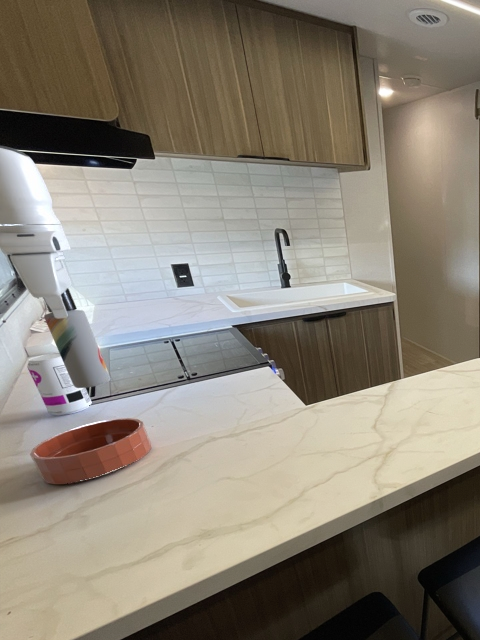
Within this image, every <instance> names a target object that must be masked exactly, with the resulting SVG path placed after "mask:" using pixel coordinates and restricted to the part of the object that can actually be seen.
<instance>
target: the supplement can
mask: <svg viewBox="0 0 480 640" xmlns="http://www.w3.org/2000/svg"><path fill="white" fill-rule="evenodd" d="M26 366H27V367H26V368H27V370H28V372H29V374H30V376H31V378H32V380H33V383H34V385H35V386H36V389H37V391H38V393H39V395H40V397H41V400H42V402H43V403H44V406H45V408H46V410H47V412H48V414H50V415H53V416H66V415H71V414H75V413H79V412H81V411H84V410H87V409H88V408H89V407H90V406H91V405H92V402H93V401H92V400H91V397H90V395H89V392H88V390H87V388H76V387H75V386H74V385H73V383H72V381H71V379H70V376H69V374H68V372H67V369H66V367H65V365H64V362H63V360H62V358H61V355H60V353H59V352H53V353H47V354H41V355H38V356H37V355H36V356H33V357H31V358H28V360H27V365H26ZM89 405H90V406H89Z"/></svg>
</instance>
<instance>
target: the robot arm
mask: <svg viewBox="0 0 480 640" xmlns="http://www.w3.org/2000/svg"><path fill="white" fill-rule="evenodd" d="M0 250H1V252H2V254H4V255H9V258H10V260H11V263H12V265H13V267H14V268H15V271H16V272H17V274H18V276H19V278H20V280H21V281H22V283H23V285H24V286H25V288H26V290H27V291H28V292H29V294H30V295H31V296H32V297H33V298H35V299H39V298H41V299H42V298H43V297H44V299H45V301H46V303H47V304H48V306H49V307H50V309H51V310H52V312H51V313H53V315H54V317H55V318H57V319H60V318H67V317H68V312H67V310H66V308H65V306H64V303H63V301H62V297H61V294H62V293H63V292H65V291H66V289H67V288H68V289H69V288H71V287H73V286H72V285H73V284H72V280H71V277H70V275H69V272H68V270H67V267H66V265H65V263H64V260H66V256H65V255H64V252H63V251H71V250H72V248H71V246H70V243H69V240H68V238H67V235H66V232H65V229H64V228H63V225H62V223H61V221H60V219H59V218H58V217H57V216H56V213H55V211H54V208H53V199H52V196H51V194H50V191H49V189H48V187H47V185H46V182H45V180H44V177H43V176H42V174H41V172H40V170H39V168H38V166H37V165H36V163H35V162H34V160H33V159H32V158H31V157H30V156H29V155H28V154H27V153H24V152H23V151H21V150H18V149H16V148H13V147H9V146H5V145H0ZM44 299H43V300H44ZM45 301H44V302H45Z"/></svg>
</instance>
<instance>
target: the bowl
mask: <svg viewBox="0 0 480 640" xmlns="http://www.w3.org/2000/svg"><path fill="white" fill-rule="evenodd" d="M151 449H152V442H151V440H150V437H149V434H148V431H147V429H146V427H145V424H144V422H143V420H141V419H138V418H132V417H131V418H130V417H127V418H114V419H107V420H101V421H96V422H92V423H88V424H85V425H84V424H83V425H81V426H78V427H75V428H72V429H69V430H68V429H67V430H66V431H63V432H61V433H58V434H55V435H53V436H51V437H48V438H47V439H45V440H43V441H41V442H40V443H38V444H37V445H36V446H34V447H33V448H32V449H31V451H30V453H29V456H30V458H31V460H32V462H33V464H34V465H35V467H36V470H37V471H38V473H39V475H40V478H41V479H42V480H43V481H44V482H45V483H46V484H50V485H51V484H52V485H67V483H68V484H72V483H71V482H75V483H77V482H76V481H80V480H85V479H89V478H93V477H96V476H100V475H102V474H105V473H107V472H110V471H112V470H115V469H118V468H120V467H123V466H125V465H128V464H130V463H132V462H134V461H136V460H138V459H139V460H141V459H142V458H143V457H145V456H146V455H148V453H149V452H150V451H151ZM141 457H142V458H141ZM139 460H138V461H139ZM136 462H137V461H136ZM134 463H135V462H134ZM132 464H133V463H132ZM130 465H131V464H130Z"/></svg>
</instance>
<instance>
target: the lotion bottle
mask: <svg viewBox="0 0 480 640" xmlns="http://www.w3.org/2000/svg"><path fill="white" fill-rule="evenodd" d="M61 297H62V301H63V303H64V306H65V308H66V310H67V312H68V317H67V318H60V319H57V318H55V317H54V315H53V313H52V310H51V309H50V307H49V306H48V304H47V303H46V301H45V299H44V297H42V299H43V301H44V303H45V306H46V308H47V311H48V313H45V314H44V315H43V318H44V320H45V323H46V326H47V327H48V330H49V332H50V334H51V337H52V339H53V341H54V344H55V346H56V349H57V350H58V353H60V355H61V358H62V360H63V362H64V365H65V367H66V369H67V372H68V374H69V376H70V379H71V381H72V383H73V385H74V386H75V387H76V388H86V389H87V388H92V387H96V386H100V385H104V384H107V383H108V382H110V381H111V377H110V374H109V373H110V372H109V370H108V368H107V365H106V363H105V359H104V358H103V355H102V353H101V350H100V347H99V345H98V342H97V340H96V337H95V335H94V332H93V329H92V327H91V324H90V322H89V320H88V317H87V314H86V312H85V310H82V309H77V306H76V303H75V301H74V298H73V296H72V294H71V291H70V289H69V288H67V289H66V291H65V292H63V293H62V294H61Z"/></svg>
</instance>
